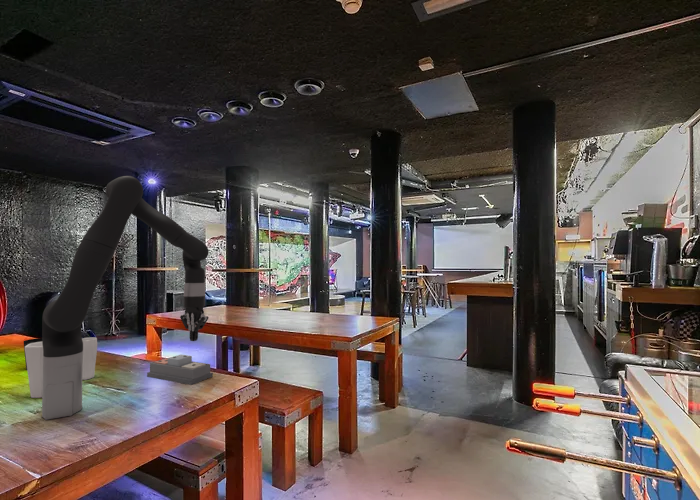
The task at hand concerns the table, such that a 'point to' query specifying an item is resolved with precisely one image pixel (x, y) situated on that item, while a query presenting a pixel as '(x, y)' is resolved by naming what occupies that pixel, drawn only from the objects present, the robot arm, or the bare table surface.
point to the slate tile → (179, 360)
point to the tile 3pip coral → (162, 361)
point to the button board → (179, 373)
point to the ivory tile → (193, 365)
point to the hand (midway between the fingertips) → (193, 340)
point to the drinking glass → (89, 357)
